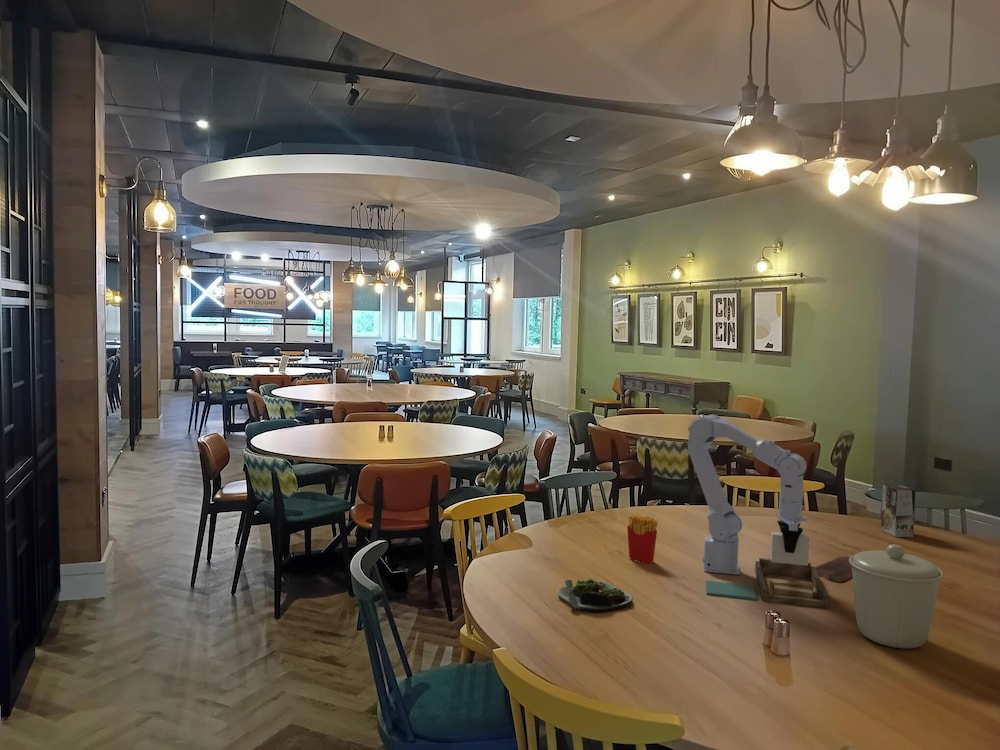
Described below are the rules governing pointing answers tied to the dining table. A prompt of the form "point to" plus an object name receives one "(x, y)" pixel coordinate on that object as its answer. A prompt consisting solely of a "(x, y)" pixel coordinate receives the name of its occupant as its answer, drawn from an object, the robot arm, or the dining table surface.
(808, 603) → the rack
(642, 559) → the french fries
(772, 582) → the offcut block large
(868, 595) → the canister
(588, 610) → the salad plate
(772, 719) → the dining table surface
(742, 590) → the mat
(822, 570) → the wooden tablet
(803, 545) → the grey sheet
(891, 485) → the coffee box
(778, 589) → the offcut block small
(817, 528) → the dining table surface
